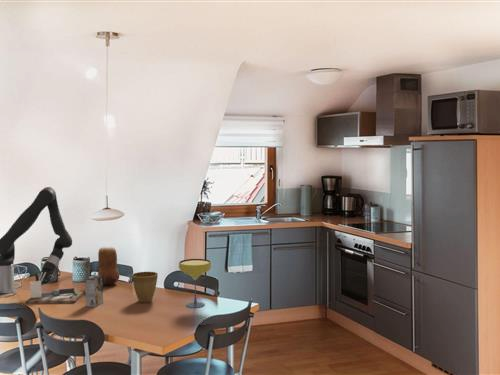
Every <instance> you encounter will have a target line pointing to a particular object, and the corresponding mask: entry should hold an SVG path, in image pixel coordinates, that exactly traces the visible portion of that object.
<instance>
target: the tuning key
mask: <svg viewBox="0 0 500 375" xmlns="http://www.w3.org/2000/svg"><path fill="white" fill-rule="evenodd" d="M29 287H30V288H29V289H30V290H29V291H30V298H34V297H42V296H52V295H53V296H57V295H61V294H71V293H74V291H75V287H70V288H55V289H52V290H51V291H42V287H41V281H36V280H35V281H29ZM41 292H42V293H41Z"/></svg>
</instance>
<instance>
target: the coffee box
mask: <svg viewBox="0 0 500 375" xmlns="http://www.w3.org/2000/svg"><path fill="white" fill-rule="evenodd" d="M84 280H85V281H84V284H85V285H84V286H85V287H84V289H85V291H84V292H85V306H86V307H93V308H95V307H98V306H100V305H101V304H103V303H104V286H103V285H104V284H103V282H102V275H98V274H96V275H94V274H93V275H90V276H88V277H86V278H84Z"/></svg>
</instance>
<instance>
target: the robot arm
mask: <svg viewBox="0 0 500 375" xmlns="http://www.w3.org/2000/svg"><path fill="white" fill-rule="evenodd" d="M46 207H47V209H48V213H49V219H50V224H51V227H52V231H53V232H54V234H55V235H56V236H58V238H57V239H55V241H54V245H53V247H52V252H50V254H49V256H48V257H47V258H46V260H45V261H44V264H43V265H42V267H41V271H40V272H39V273H35V274H34V275H35V281H41V288H42V286H44V285H46V284H48V283H49V282H51V281H52V280H54V276H53V274H55V271H56V270H57V268H58V267H59V264H60V263H61V260H62V258H63V257H64V250H63V249H68V248H70V247H72V245H73V238H72V236H71V234H69V232H68V230H67V229H66V227H65V223H64V220H63V217H62V215H61V212H60V211H61V210H60V209H59V204H58V199H57V193H56V191H55V189H54V188H52V187H50V186H47V187H44V188H42V189H41V190H40V191H39V193H38V194H37V195H36V197H35V198H34V200H33V202H31V204H30V205H29V206H28V207H27V208H26V209H25V210H24V211H23V212H21V214H20V215H19V216H18V217H17V218H16V220H15V221H14V223H13V224H12V225H11V226H10V228H9V229H8V230H7V232H6V233H5V234H4V235H2V237H0V294H9V293H10V294H11V293H13V292H15V269H14V268H15V266H14V261H15V255H16V248H15V243H16V241H17V240H18V239H19V238H21V236H22V235H24V234H25V233H26V232H27V231H29V229H30V228H31V227H32V226H33V225H34V224H35V222H36V221H37V219H38V218H39V215H40V214H41V213H42V211H43V210H44V209H45V208H46Z"/></svg>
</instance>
